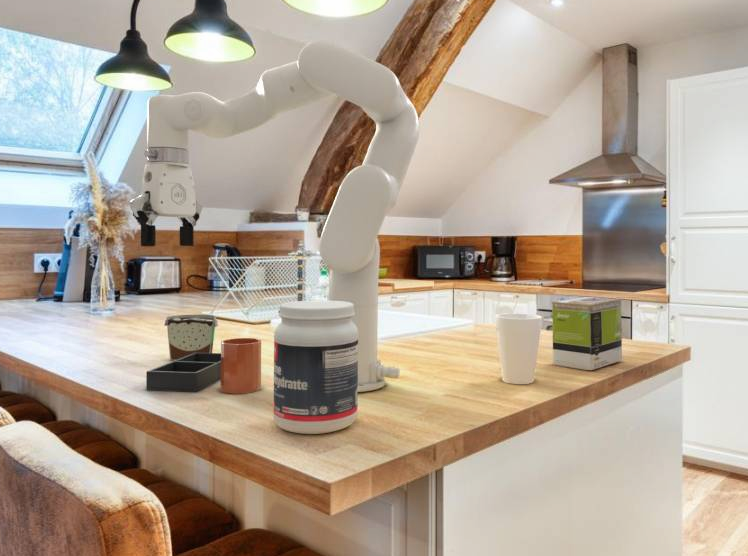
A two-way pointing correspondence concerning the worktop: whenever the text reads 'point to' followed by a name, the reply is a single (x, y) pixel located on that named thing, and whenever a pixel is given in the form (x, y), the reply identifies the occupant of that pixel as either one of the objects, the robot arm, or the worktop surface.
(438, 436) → the worktop surface
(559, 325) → the tea box
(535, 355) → the foam cup
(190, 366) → the holder
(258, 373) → the cup
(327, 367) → the supplement tub
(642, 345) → the worktop surface
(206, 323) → the food container
